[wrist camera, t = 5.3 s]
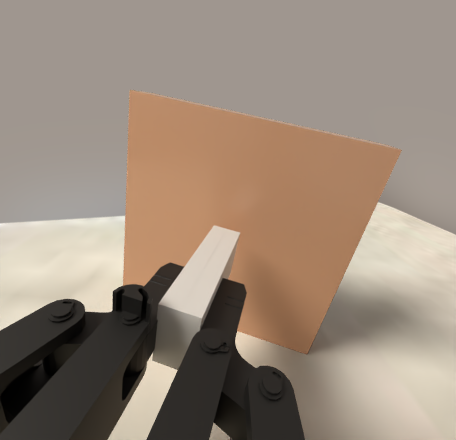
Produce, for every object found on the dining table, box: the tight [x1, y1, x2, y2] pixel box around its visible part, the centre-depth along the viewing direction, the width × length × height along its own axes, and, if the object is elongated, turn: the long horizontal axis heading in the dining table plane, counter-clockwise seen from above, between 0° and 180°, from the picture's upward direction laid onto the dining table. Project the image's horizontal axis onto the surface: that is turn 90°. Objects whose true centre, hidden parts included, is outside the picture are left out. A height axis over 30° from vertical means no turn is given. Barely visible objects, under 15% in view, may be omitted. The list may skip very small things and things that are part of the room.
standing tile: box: [123, 90, 402, 354], centre depth 17 cm, size 14×3×14 cm, turn 77°
